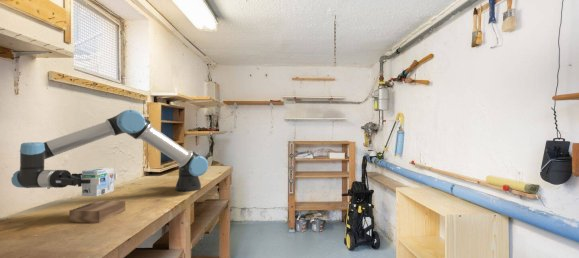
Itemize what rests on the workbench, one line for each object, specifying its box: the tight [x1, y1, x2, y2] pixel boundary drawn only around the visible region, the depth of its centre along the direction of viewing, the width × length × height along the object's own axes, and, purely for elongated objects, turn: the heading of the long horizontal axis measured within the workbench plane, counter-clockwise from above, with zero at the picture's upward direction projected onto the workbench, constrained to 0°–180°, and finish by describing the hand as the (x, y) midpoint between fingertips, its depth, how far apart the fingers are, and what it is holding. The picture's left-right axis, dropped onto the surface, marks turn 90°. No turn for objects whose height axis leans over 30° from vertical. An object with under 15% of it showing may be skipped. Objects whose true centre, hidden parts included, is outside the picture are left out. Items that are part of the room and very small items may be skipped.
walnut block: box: [68, 200, 126, 224], centre depth 114 cm, size 13×15×5 cm
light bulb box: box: [81, 167, 115, 197], centre depth 114 cm, size 11×7×11 cm, turn 179°
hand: (108, 178), depth 114 cm, fingers closed on light bulb box, 11 cm apart
